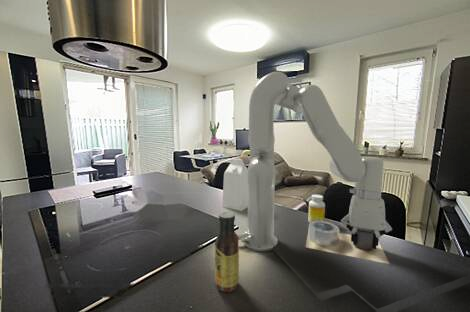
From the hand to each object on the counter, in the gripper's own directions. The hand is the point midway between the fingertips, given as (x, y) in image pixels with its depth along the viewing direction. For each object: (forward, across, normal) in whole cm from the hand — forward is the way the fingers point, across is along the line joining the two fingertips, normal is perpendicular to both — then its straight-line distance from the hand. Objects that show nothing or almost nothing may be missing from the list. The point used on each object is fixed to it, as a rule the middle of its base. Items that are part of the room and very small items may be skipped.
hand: (363, 244), depth 72 cm
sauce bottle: (+2, -36, -34) cm, 49 cm away
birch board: (+2, -6, 0) cm, 7 cm away
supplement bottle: (+2, -16, +16) cm, 22 cm away
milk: (+2, -57, +24) cm, 62 cm away
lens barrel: (+1, -13, 0) cm, 13 cm away
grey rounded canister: (+1, 0, 0) cm, 1 cm away
